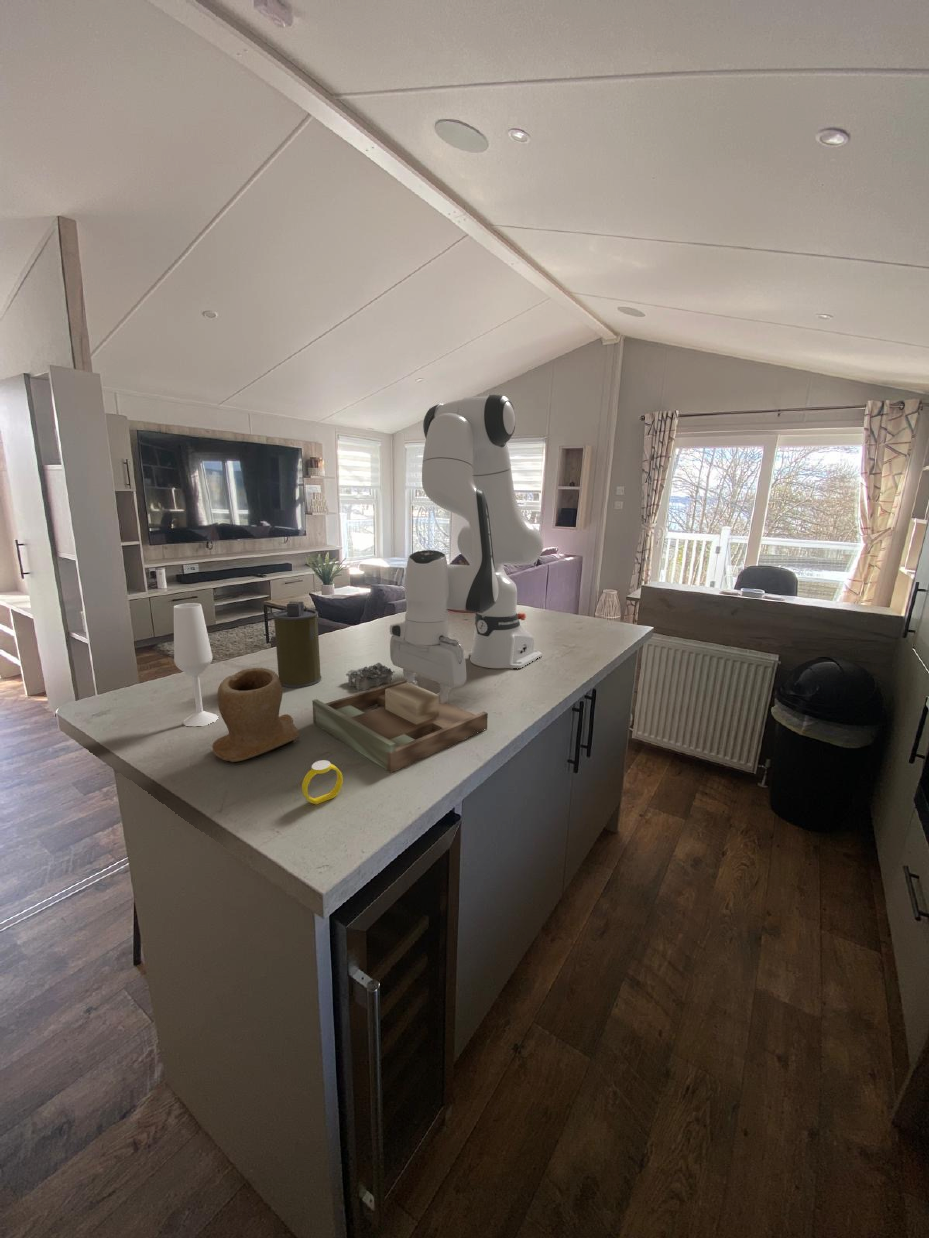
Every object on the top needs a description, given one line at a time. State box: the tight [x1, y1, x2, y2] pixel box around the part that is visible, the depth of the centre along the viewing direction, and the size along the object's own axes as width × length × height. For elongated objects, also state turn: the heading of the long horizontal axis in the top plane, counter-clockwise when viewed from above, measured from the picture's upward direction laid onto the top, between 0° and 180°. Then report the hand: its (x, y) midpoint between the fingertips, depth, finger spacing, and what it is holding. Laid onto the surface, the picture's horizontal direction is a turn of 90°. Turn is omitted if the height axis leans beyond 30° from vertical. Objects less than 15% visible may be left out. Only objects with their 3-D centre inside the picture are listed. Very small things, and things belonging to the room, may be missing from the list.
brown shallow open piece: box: [312, 679, 489, 773], centre depth 100 cm, size 24×26×5 cm
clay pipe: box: [211, 667, 300, 763], centre depth 89 cm, size 15×12×15 cm
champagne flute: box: [173, 602, 219, 727], centre depth 99 cm, size 7×7×24 cm
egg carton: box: [345, 662, 396, 691], centre depth 124 cm, size 11×8×4 cm
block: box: [385, 682, 439, 725], centre depth 102 cm, size 6×10×4 cm, turn 45°
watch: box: [301, 759, 344, 805], centre depth 75 cm, size 6×3×6 cm, turn 129°
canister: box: [272, 600, 322, 689], centre depth 123 cm, size 11×10×20 cm
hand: (426, 695), depth 105 cm, fingers open, 8 cm apart
